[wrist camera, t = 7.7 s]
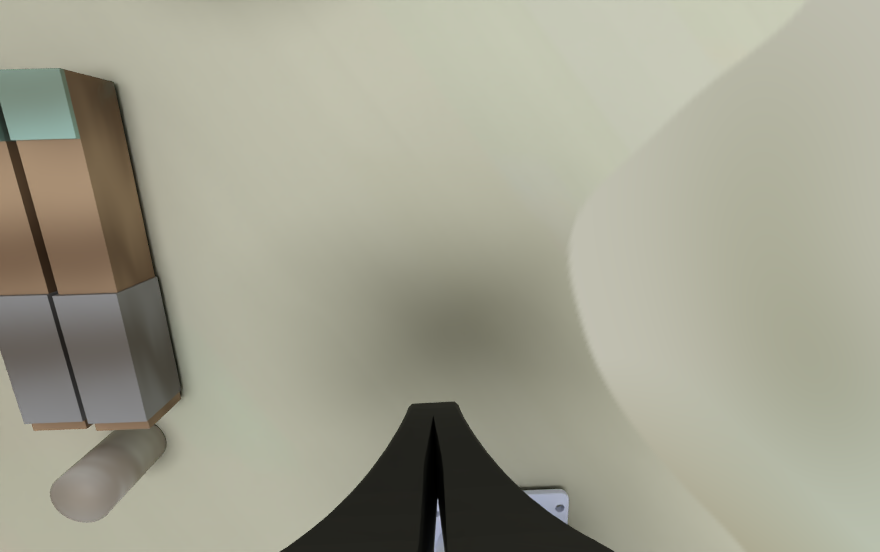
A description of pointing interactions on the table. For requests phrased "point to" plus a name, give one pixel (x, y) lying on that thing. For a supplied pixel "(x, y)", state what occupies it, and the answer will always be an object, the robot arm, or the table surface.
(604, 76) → the table surface
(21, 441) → the table surface
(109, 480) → the tongs fixed arm
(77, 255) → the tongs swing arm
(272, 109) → the table surface
